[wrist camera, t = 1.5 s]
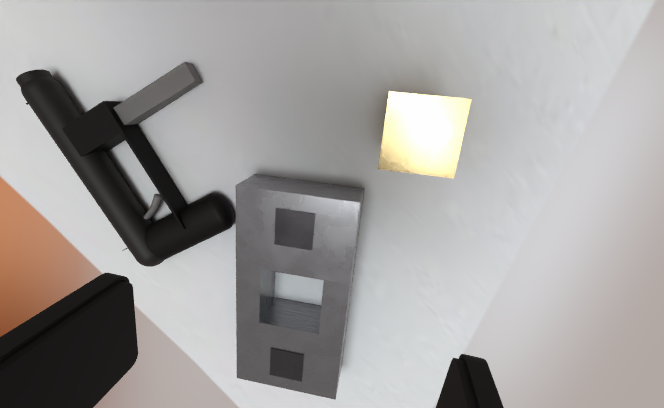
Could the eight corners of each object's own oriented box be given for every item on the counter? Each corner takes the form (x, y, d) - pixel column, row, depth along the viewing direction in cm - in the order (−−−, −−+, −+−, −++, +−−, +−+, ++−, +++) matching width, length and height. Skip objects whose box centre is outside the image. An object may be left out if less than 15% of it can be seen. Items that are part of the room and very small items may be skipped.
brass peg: (389, 93, 26) (388, 91, 16) (441, 98, 25) (471, 99, 16) (382, 144, 27) (378, 168, 18) (431, 149, 27) (454, 178, 17)
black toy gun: (136, -15, 24) (-5, 89, 28) (267, 215, 29) (130, 280, 32) (163, -1, 28) (33, 91, 31) (277, 204, 32) (151, 264, 35)
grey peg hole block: (255, 174, 30) (235, 185, 26) (364, 188, 28) (360, 203, 25) (252, 348, 36) (236, 378, 32) (341, 366, 35) (335, 400, 31)
